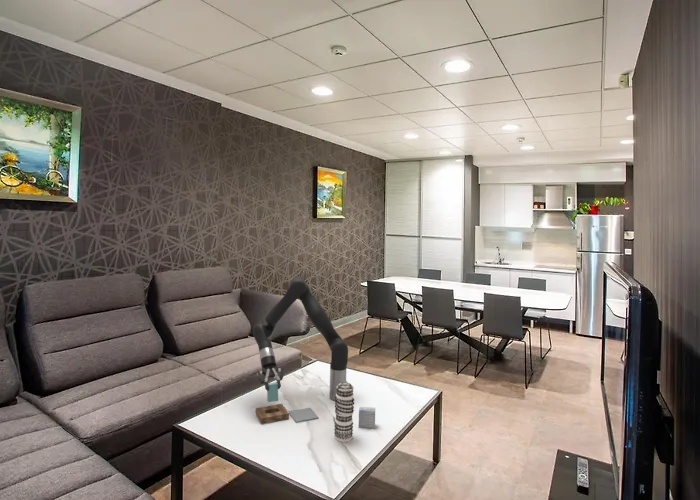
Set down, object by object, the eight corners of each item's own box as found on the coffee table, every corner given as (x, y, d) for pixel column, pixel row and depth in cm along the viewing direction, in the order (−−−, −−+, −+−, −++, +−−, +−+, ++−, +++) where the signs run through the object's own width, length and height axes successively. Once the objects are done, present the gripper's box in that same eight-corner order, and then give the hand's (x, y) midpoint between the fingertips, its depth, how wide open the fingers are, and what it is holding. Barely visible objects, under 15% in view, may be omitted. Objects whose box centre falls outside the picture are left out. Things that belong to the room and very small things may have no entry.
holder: (281, 409, 220) (282, 403, 220) (288, 419, 209) (289, 413, 209) (255, 413, 214) (255, 408, 213) (261, 424, 203) (261, 418, 203)
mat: (310, 408, 221) (310, 407, 221) (318, 418, 211) (318, 417, 211) (288, 412, 216) (288, 411, 216) (295, 422, 205) (295, 421, 205)
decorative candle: (330, 439, 191) (331, 386, 189) (338, 430, 200) (339, 379, 198) (348, 443, 188) (350, 389, 186) (356, 434, 196) (357, 382, 194)
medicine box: (375, 424, 207) (375, 407, 206) (374, 428, 202) (375, 411, 202) (359, 423, 207) (359, 406, 207) (358, 427, 203) (358, 410, 202)
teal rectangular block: (276, 399, 213) (276, 382, 212) (278, 400, 211) (278, 383, 210) (267, 400, 211) (267, 383, 210) (268, 402, 209) (268, 385, 208)
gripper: (255, 356, 213) (260, 388, 203) (282, 353, 219) (289, 383, 209) (252, 363, 218) (258, 394, 208) (279, 360, 224) (285, 390, 214)
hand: (273, 389), depth 209 cm, fingers closed on teal rectangular block, 5 cm apart
